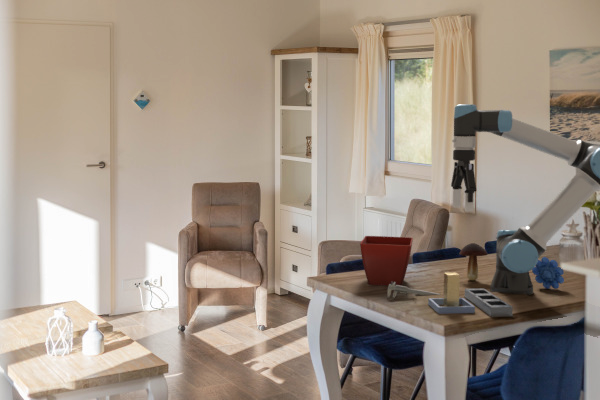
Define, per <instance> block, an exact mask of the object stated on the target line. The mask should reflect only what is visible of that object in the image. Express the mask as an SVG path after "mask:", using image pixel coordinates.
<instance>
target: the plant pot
mask: <svg viewBox="0 0 600 400" xmlns="http://www.w3.org/2000/svg"><path fill="white" fill-rule="evenodd" d="M413 240H414V239H413V237H411V236H410V237H408V236H407V237H405V236H404V237H403V236H385V235H384V236H383V235H380V236H379V235H365V236H364V237H363V238H362V240H361V242H360V243H359V244H360V254H361V255H360V256H361V259H362V265H363V270H364V273H365V278H366V281H367V284H368V285H369V286H370V285H371V286H384V287H385V286H386V287H388V286H389V284H391V281H392V282H393V283H394V282H396V283H395V285H400V286H403V283H404V281H405V277H406V273H407V271H408V267H409V261H410V257H411V253H412V246H413Z"/></svg>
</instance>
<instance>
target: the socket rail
mask: <svg viewBox="0 0 600 400" xmlns="http://www.w3.org/2000/svg"><path fill="white" fill-rule="evenodd" d="M464 299H465V300H467V301H468V302H469V303H471V304H472V305H473V306H476V307H477V308H478V309H480V310H481V311H483V313H485V314H487V316H489V317H492V318H495V317H496V318H497V317H498V318H499V317H500V318H501V317H513V309H514V308H513V306H512V305H510V304H509V303H508V302H506V301H504V300H503V299H501V298H500V297H498V296H497V295H495V294H493V292H491V291H489V290H487V289H485V288H481V287H480V288H464Z"/></svg>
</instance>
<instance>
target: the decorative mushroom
mask: <svg viewBox="0 0 600 400" xmlns="http://www.w3.org/2000/svg"><path fill="white" fill-rule="evenodd" d="M459 251H460V252H459V254H458V255H460V256H464V257H468V263H467V270H466V276H467V279H468V281H476V280H478V277H479V268H478V267H479V266H478V264H479V263H478V257H484V256H487V255H488V252H487V249H485V248H484V247H482V246H481V245H479V244H477V243H475V242H474V243H473V242H472V243H468V244H467V245H464V247H463V248H461V250H459Z"/></svg>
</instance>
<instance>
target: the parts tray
mask: <svg viewBox="0 0 600 400" xmlns="http://www.w3.org/2000/svg"><path fill="white" fill-rule="evenodd" d="M443 299H444V297H443V298H442V297H438V298H433V297H432V298H429V297H428V302H427V304H428V306H429V307H430V308H431V309H433V311H435V312H436V313H437V314H438V315H439V314H442V315H443V314H446V315H447V314H475V313H476V312H475V311H476V307H475V306H476V305H474V304H473V303H472V302H470V301H469V300H468V299H466V298H465V297H459V306H453V307H443ZM460 305H461V306H460Z"/></svg>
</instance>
